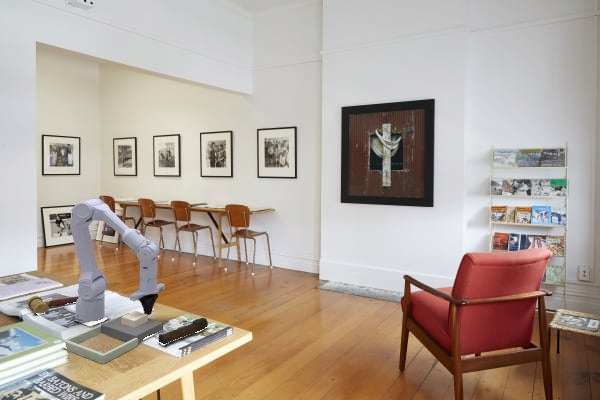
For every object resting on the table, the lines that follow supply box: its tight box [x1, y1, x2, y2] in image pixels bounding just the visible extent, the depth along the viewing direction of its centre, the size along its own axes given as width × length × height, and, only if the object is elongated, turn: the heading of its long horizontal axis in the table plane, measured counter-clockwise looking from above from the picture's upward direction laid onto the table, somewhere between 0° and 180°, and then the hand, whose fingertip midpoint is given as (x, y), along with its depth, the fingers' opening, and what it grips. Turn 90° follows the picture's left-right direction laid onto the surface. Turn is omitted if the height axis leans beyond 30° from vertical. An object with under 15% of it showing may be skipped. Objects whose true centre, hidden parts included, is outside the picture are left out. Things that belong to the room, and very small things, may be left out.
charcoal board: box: [100, 312, 164, 345], centre depth 140 cm, size 16×12×3 cm
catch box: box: [63, 325, 139, 365], centre depth 129 cm, size 18×13×2 cm
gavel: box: [27, 295, 80, 314], centre depth 159 cm, size 21×5×10 cm
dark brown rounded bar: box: [158, 317, 209, 344], centre depth 139 cm, size 19×4×5 cm, turn 139°
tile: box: [121, 310, 149, 328], centre depth 140 cm, size 6×6×2 cm
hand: (147, 314), depth 146 cm, fingers closed
